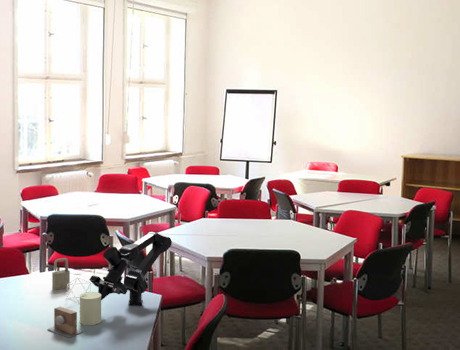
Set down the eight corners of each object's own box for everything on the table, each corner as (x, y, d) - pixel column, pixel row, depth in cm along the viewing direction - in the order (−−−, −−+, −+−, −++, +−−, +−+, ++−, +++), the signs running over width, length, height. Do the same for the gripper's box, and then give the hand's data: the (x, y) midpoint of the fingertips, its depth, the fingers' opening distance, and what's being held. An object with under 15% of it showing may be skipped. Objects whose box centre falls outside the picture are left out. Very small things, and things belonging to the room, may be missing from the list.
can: (78, 318, 253) (78, 291, 252) (100, 316, 256) (100, 289, 255) (80, 326, 245) (80, 298, 243) (102, 323, 248) (102, 296, 246)
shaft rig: (62, 324, 246) (62, 303, 245) (83, 331, 239) (84, 310, 238) (47, 330, 239) (47, 309, 238) (69, 338, 232) (69, 316, 231)
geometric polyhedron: (91, 303, 272) (91, 284, 271) (67, 305, 269) (67, 285, 268) (89, 295, 284) (89, 276, 283) (66, 296, 281) (66, 278, 280)
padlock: (51, 288, 292) (51, 259, 290) (66, 285, 297) (66, 256, 295) (55, 290, 289) (55, 260, 287) (70, 287, 294) (70, 258, 292)
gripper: (140, 284, 262) (123, 315, 254) (110, 276, 271) (92, 305, 264) (129, 271, 254) (110, 302, 246) (98, 263, 264) (79, 293, 256)
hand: (98, 301), depth 253 cm, fingers closed, pressing on can
